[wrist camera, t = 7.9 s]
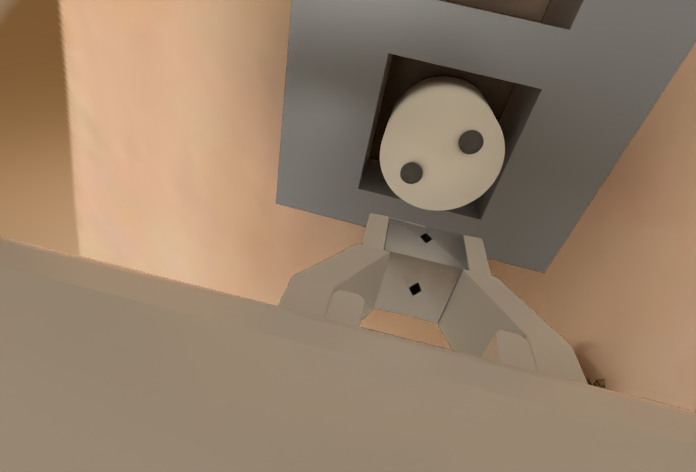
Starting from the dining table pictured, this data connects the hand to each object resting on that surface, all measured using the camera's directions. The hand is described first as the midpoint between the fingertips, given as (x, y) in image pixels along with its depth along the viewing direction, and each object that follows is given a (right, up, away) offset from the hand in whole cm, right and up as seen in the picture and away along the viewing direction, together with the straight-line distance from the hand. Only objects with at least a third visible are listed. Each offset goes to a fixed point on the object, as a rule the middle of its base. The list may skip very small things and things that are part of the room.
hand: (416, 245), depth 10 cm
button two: (+2, +5, +7) cm, 9 cm away
